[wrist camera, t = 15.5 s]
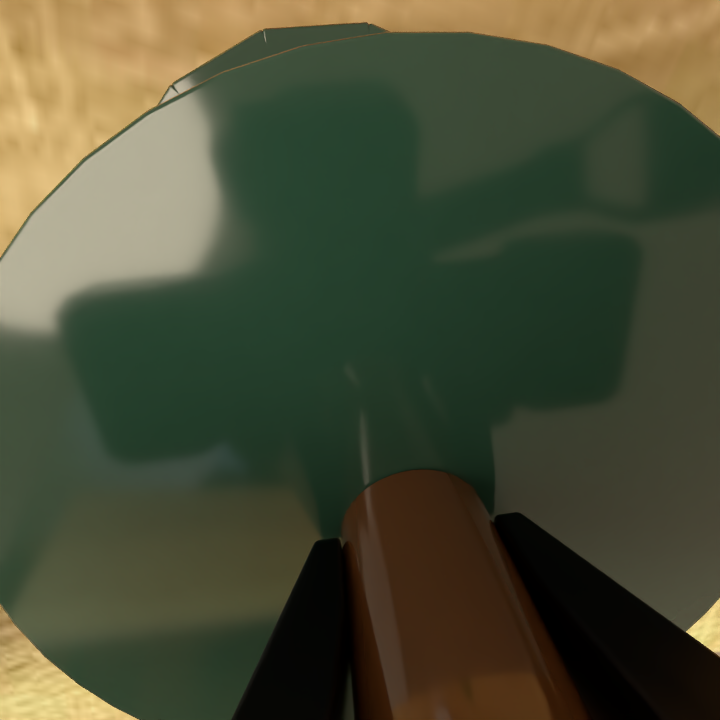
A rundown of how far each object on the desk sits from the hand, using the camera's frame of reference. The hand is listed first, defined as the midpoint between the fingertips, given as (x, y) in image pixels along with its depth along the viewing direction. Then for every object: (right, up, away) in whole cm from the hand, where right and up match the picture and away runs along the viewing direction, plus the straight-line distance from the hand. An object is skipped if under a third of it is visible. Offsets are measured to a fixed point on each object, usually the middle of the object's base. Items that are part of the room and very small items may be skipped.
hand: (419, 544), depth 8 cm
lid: (0, 0, +1) cm, 1 cm away
